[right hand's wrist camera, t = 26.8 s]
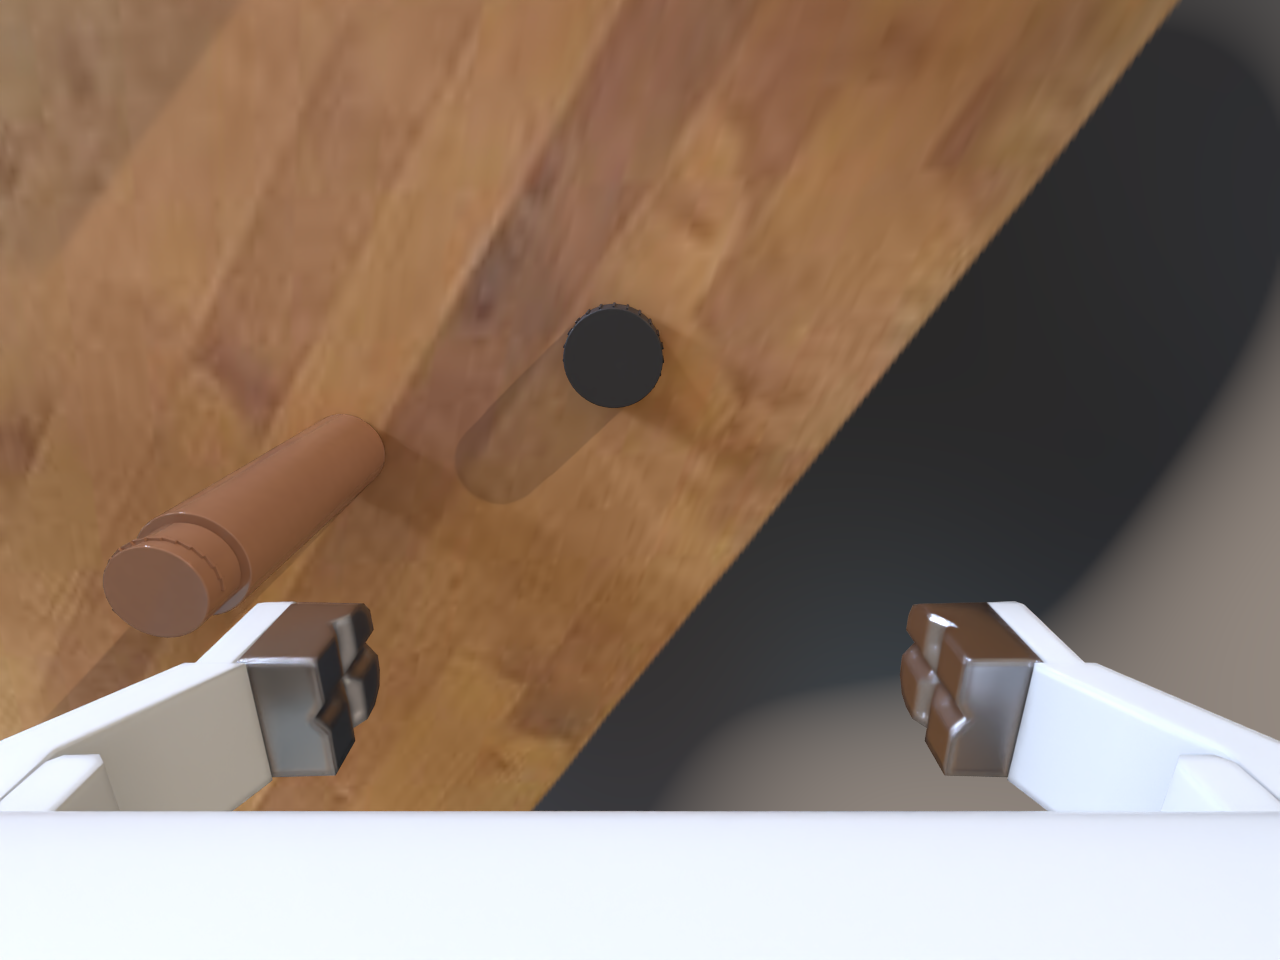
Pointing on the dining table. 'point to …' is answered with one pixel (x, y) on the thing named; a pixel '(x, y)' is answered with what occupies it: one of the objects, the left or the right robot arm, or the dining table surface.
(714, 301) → the dining table surface
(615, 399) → the lid
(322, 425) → the brown tall cylinder
